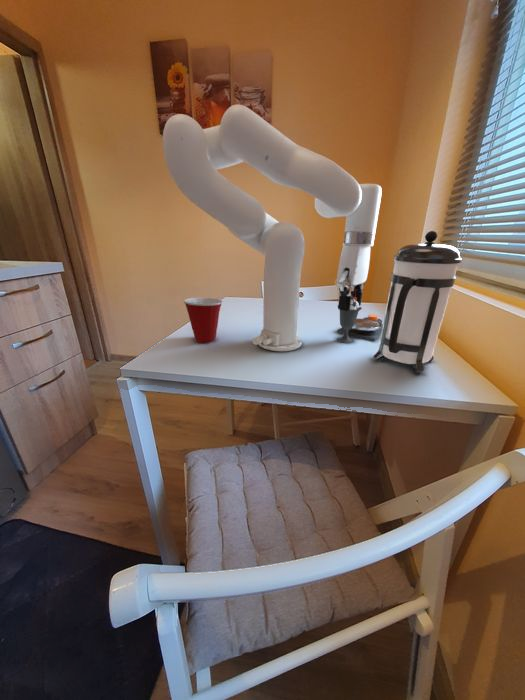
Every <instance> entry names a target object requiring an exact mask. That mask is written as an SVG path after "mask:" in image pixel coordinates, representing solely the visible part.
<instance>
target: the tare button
mask: <svg viewBox="0 0 525 700" xmlns="http://www.w3.org/2000/svg"><path fill="white" fill-rule="evenodd" d="M367 317H368V320H372V321H377V320H378V319H379V315H378V314H368V315H367Z"/></svg>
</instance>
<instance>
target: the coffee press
mask: <svg viewBox="0 0 525 700" xmlns="http://www.w3.org/2000/svg"><path fill="white" fill-rule="evenodd" d="M424 238H425V241H426V242H424V243H413V244H407V245H403V247H400V248H399V250H397V252H396V255H395V254H394V256H393V261H394V265H393V271H392V272H391V276H390V279H389V280H390V286H389V291H388V297H387V302H386V308H385V313H384V317H383V322H382V324H383V328H382V334H381V337H380V338H379V346H378V350H377V352H375V354H373V356H372V359H373V361H375V362H376V363H380V362H381V361H382V360H384V359H386V358H387V359H389V360H391V361H394V362H398V363H401V364H406V365H411V367H412V371H413V373H414V374H423V372H424V365H423V364H425V363H428V362H432V361H434V357H435V356H434V352H435V349H436V346H437V341H438V338H439V335H440V331H441V328H442V324H443V320H444V317H445V312H446V309H447V305H448V302H449V298H450V294H451V290H452V288H453V287H454V285H455V281H456V278H457V277H456V274H457V273H456V272H457V269H458V266H459V265H460V263H462V258H461V256H460V251H459V250H458V248H456V247H454V246H452V245H447V244H437V243H436V244H435V241H436V240H437V238H438V233H437V232H436V231H435V230H429V231H428V232H426V234H425V236H424Z"/></svg>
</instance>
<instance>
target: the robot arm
mask: <svg viewBox="0 0 525 700" xmlns="http://www.w3.org/2000/svg"><path fill="white" fill-rule="evenodd" d="M162 149H163V156H164V160H165V164H166V167H167V171H168V173H169V175H170V176H171V179H172V180H173V182H174V184H175V185H176V187H177V188H178V189H179V191H180V192H181V193H182V194H183V195H184V196H185V197H186V198H187V199H188V200H189V202H191V203H192V204H194V205H195V206H196V207H198V209H200V210H201V211H203V212H204V213H206V214H207V215H208V216H210V217H211V218H212V219H214V220H215V221H217V222H218V223H220V224H221V225H223V226H224V227H226V228H227V229H228V231H229V232H230V233H231V234H232V235H233V236H234V237H235V238H237V239H239V240H240V241H241V242H243V243H245V244H246V245H248V247H251V248H252V249H253V250H255V251H257V252H258V253H260V254H262V255H263V256H264V267H263V307H262V308H263V311H262V312H263V313H262V316H263V317H262V323H263V324H262V329H261V331H260V335H259V336H256V337H254V338H252V339H251V341H252V344H253V345H254V346H257V345H258V346H259V347H260V348H261V349H264V350H268V351H273V352H290V351H295V350H298V349H299V348H300V347H301V346H302V344H303V340H302V338H301V337H300V336H298V321H299V306H300V291H301V289H300V287H301V276H302V268H303V262H304V256H305V249H306V242H305V237H304V234H303V232H302V230H301V229H300V228H299V226H297V225H296V224H294V223H292V222H289V221H278V220H277V219H275V218H274V217H273V216H271V215H270V214H268V213H267V212H266V211H265V208H264V206H263V205H262V203H261V202H260V201H259V200H258V199H257V198H256V197H253V196H252V195H249V193H247V192H246V191H244V189H243V190H242V188H240V187H239V186H237V185H235V184H234V183H233V182H231V181H230V180H229V179H228V178H227V177H225V176H224V175H223V174H221V173H220V172H219V171H218V170H222V169H226V168H229V167H232V166H235V165H238V164H242V163H246V164H247V165H249V166H250V167H252V168H253V169H254V170H256V171H257V172H259V173H260V174H261V175H263V176H264V177H265V178H267V179H268V180H270V181H271V182H273V183H274V184H277V185H279V186H282V187H286V188H292V189H296V190H300V191H302V192H305V193H306V194H308V195H310V196H312V197H313V198H314V209H315V211H316V212H317V214H318V215H320V216H321V217H323V218H326V219H333V218H341V217H345V224H344V234H343V242H342V249H341V253H340V257H339V263H338V267H337V275H336V283H337V286H338V295H339V297H338V305H337V310H338V311H340V310H344V311H349V310H350V304H351V297H352V296H353V297H355V292H356V298H357V300H356V301H357V302H358V303H359V307H361V305H362V299H363V292H364V286H365V284H366V283H365V282H366V281H367V279H368V274H369V269H370V261H371V247H374V243H375V236H376V231H377V225H378V218H379V212H380V206H381V199H382V192H383V191H382V186H380V185H379V184H377V183H359V182H358V180H356V178H355V177H354V176H352V174H350V173H349V172H348V171H346V170H345V169H344V168H343V167H342V166H340V165H338V164H337V163H336V162H335V161H333V160H331V159H330V158H327V157H326V156H324V155H322V154H319V153H318V152H315V151H312V150H311V149H308V148H306V147H304V146H301V145H299V144H297V143H295V142H294V141H292V140H291V139H290V138H289V137H287V136H286V135H284V134H283V133H282V132H281V131H279V130H278V129H277V128H275V127H274V126H273V125H272V124H270V123H269V122H268V121H266V120H265V119H264V118H263V117H261V116H260V115H259V114H258V113H256V112H255V111H253V109H250V108H249V107H247V106H245V105H243V104H233V105H231V106H229V107H228V108H227V109H226V110H225V111H224V113H223V115H222V117H221V120H220V124H218V125H215V126H210V127H207V128H203V127H202V126H201V125H200V124H199V122H198V121H197V120H195V119H194V118H193V117H191V116H189V115H187V114H183V113H178V114H174V115H171V116H170V117H169V118H168V120H167V121H166V123H165V124H164V128H163V132H162ZM355 289H357V290H355ZM354 291H355V292H354ZM350 295H352V296H350Z"/></svg>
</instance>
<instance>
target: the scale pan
mask: <svg viewBox="0 0 525 700" xmlns="http://www.w3.org/2000/svg"><path fill="white" fill-rule="evenodd" d="M379 327H380V324H379V323H377V322H375V321H372V320H368V319H363V318H356V322H355V324H354V326H353V327H352V328H354V329H358V330H367V331H371V330H377V329H379Z"/></svg>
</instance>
